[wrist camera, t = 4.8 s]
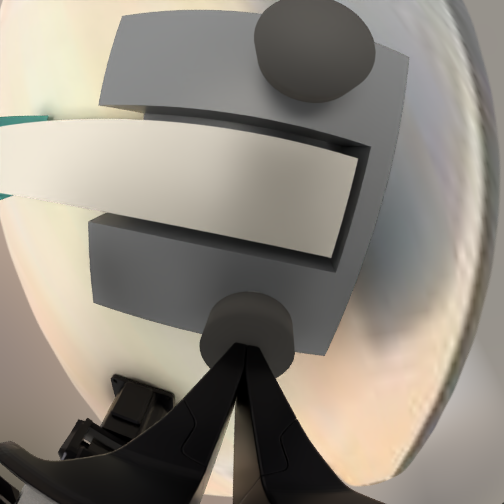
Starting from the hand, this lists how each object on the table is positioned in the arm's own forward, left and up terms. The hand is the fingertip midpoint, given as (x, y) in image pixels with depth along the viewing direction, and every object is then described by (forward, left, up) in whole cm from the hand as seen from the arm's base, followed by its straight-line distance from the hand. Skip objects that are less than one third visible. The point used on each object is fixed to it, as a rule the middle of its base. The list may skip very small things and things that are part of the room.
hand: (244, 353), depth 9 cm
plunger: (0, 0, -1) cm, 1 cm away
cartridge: (+5, +8, -8) cm, 12 cm away
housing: (+5, +2, -9) cm, 10 cm away
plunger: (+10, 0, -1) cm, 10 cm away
